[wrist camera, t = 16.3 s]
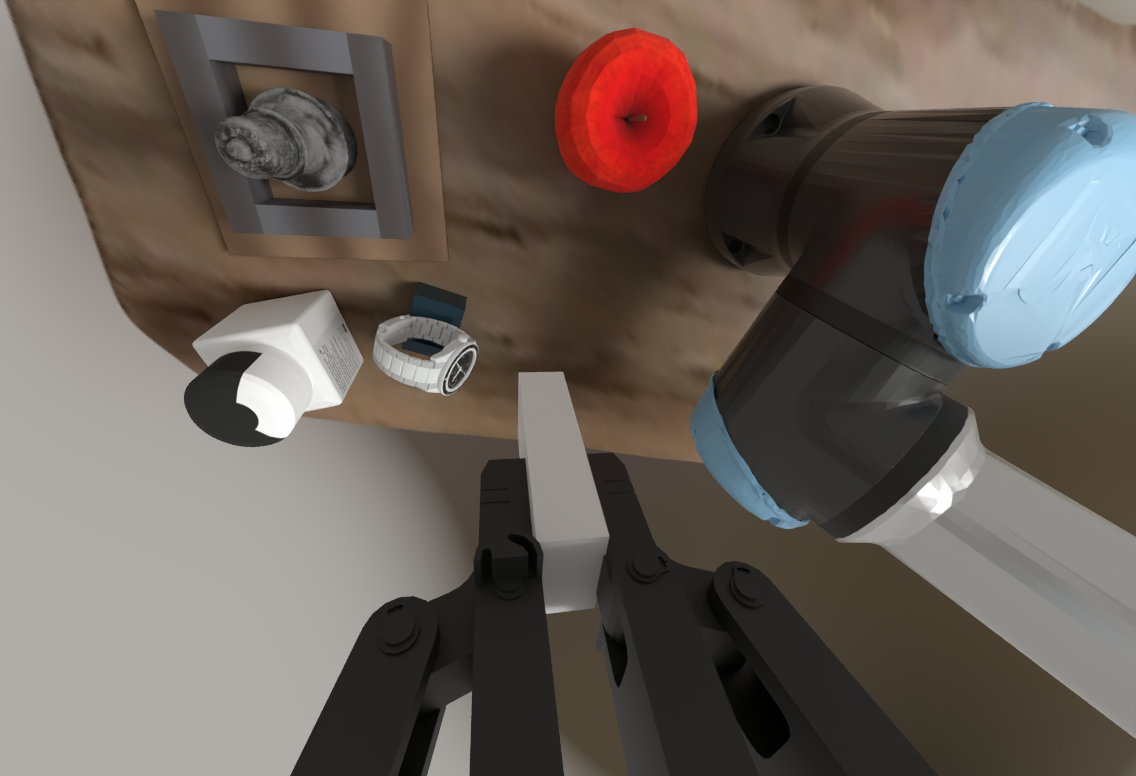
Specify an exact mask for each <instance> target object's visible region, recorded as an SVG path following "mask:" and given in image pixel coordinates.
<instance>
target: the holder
mask: <svg viewBox="0 0 1136 776" xmlns="http://www.w3.org/2000/svg"><path fill="white" fill-rule="evenodd" d="M135 2H136V5H137V7H138V10H139V13H140V15H141V18H142V21H143V24H144V26H145V29H146V32H147V34H148V37H149V40H150V42H151V45H152V48H153V50H154V53H155V56H156V58H157V61H158V64H159V66H160V69H161V72H162V75H163V77H164V80H165V83H166V85H167V88H168V91H169V93H170V96H171V99H172V101H173V104H174V107H175V109H176V112H177V115H178V117H179V120H180V123H181V125H182V128H183V131H184V134H185V136H186V139H187V142H188V144H189V147H190V150H191V152H192V155H193V158H194V160H195V163H196V166H197V168H198V171H199V174H200V176H201V179H202V182H203V185H204V187H205V190H206V193H207V195H208V198H209V201H210V203H211V206H212V209H213V211H214V214H215V217H216V219H217V222H218V225H219V227H220V230H221V233H222V236H223V238H224V241H225V244H226V246H227V249H228V252H229V254H230V255H237V256H269V257H301V258H332V259H364V260H396V261H428V262H448V261H449V252H448V240H447V227H446V215H445V203H444V191H443V179H442V167H441V155H440V143H439V131H438V118H437V106H436V94H435V82H434V70H433V58H432V46H431V34H430V22H429V10H428V2H427V0H135ZM277 87H287V88H291V89H296V90H300V91H302V92H304V93H306V94H308V95H310V96H312V97H316V98H319V99H321V100H323V101H325V102H327V103H329V104H331V105H332V106H333V107H335V108H336V109H337V110H338V111H339V112H340V113H341V114H342V115H343V116H344V117H345V119H346V120H347V121H348V123H349V125H350V126H351V128H352V130H353V132H354V135H355V138H356V141H357V151H358V154H357V159H356V163H355V165H354V167H353V169H352V171H351V172H350V173H349V174H347V175H346V176H345V177H343V178H342V179H341V180H340V181H339V182H338V183H337V184H336V185H335V186H334V187H331V188H329V189H327V190H324V191H318V192H308V191H302V190H298V189H296V188H293V187H291V186H288V185H286V184H285V183H283V182H282V181H280V180H275V179H272V178H268V179H254V178H249V177H247V176H244V175H242V174H240V173H238V172H237V171H235V170H234V169H233V168H232V167H230V166H229V165H228V164H227V163H226V162H225V160H224V159H223V158H222V156H221V155H220V153H219V151H218V149H217V146H216V142H215V130H216V128H217V125H218V124H219V123H220V122H221V121H222V120H224V119H226V118H228V117H230V116H241V115H242V114H243V113H244V112H245V111H248V109H249V107H250V105H251V102H252V101H253V100H254V99H255V98H256V97H257V96H258V95H259V93H261V92H263V91H265V90H268V89H270V88H277Z"/></svg>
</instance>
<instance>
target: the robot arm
mask: <svg viewBox="0 0 1136 776" xmlns="http://www.w3.org/2000/svg"><path fill="white" fill-rule="evenodd" d="M705 217H706V224H707V229H708V232H709V235H710V238H711V240H712V242H713V244H714V246H715V247H716V249H717V250H718V251H719V253H720V254H721V255H722V256H723V257H724V258H725V259H727V260H728V261H729V262H731V263H733V264H734V265H736V266H738V267H740V268H741V269H743V270H745V271H747V272H750V273H753V274H757V275H762V276H786V278H785V279H784V280H783V282H782V283H781V285H780V286H779V288H778V289H777V290H776V291H775V292H774V294H773V295H772V297H771V298H770V299H769V301H768V302H767V304H766V305H765V307H764V308H763V309H762V311H761V312H760V314H759V315H758V317H757V318H756V320H755V321H754V322H753V324H752V325H751V327H750V328H749V330H748V331H747V332H746V334H745V335H744V337H743V338H742V339H741V341H740V342H739V343H738V345H737V346H736V348H735V349H734V350H733V352H732V353H731V354H730V356H729V357H728V359H727V360H726V361H725V363H724V364H723V365H722V367H721V368H720V370H718V371H716V372H714V373H713V375H712V376H711V377H710V380H709V385H708V387H707V388H706V390H705V391H704V393H703V395H702V396H701V398H700V399H699V401H698V402H697V404H696V406H695V407H694V409H693V412H692V415H691V420H690V428H691V433H692V438H693V440H694V442H695V446H696V449H697V451H698V453H699V455H700V457H701V459H702V460H703V462H704V464H705V465H706V467H707V468H708V470H709V471H710V472H711V474H712V475H713V476H714V478H715V479H716V480H717V481H718V482H719V483H720V484H721V486H722V487H723V488H724V489H725V490H726V491H727V492H728V493H729V494H730V495H731V496H732V497H733V498H734V499H735V500H736V501H738V502H739V503H740V504H741V505H742V506H743V507H745V508H746V509H747V510H748V511H750V512H751V513H753V514H754V515H756V516H757V517H759V518H761V519H763V520H767V519H768V520H769V521H770V522H771V523H772V524H773V525H775V526H778V527H781V528H786V529H792V528H795V527H798V526H803V525H806V524H807V523H808V522H809V521H810V520H811V521H813V522H814V523H815V524H817V525H818V526H819V527H821V528H822V529H823V530H824V531H826V532H827V533H828V534H830V535H831V536H832V537H833V538H835V539H836V540H837V541H839V542H870V543H874V544H878V545H881V546H882V547H883V548H885V549H886V550H887V551H888V552H890V553H891V554H892V555H894V556H895V557H896V558H898V559H899V560H901V561H902V562H903V563H904V564H906V565H907V566H908V567H910V568H911V569H912V570H914V571H915V572H916V573H918V574H919V575H920V576H922V577H923V578H924V579H925V580H927V581H928V582H929V583H931V584H932V585H934V586H935V587H936V588H937V589H939V590H940V591H941V592H943V593H944V594H945V595H947V596H948V597H949V598H951V599H952V600H953V601H955V602H956V603H957V604H959V605H960V606H961V607H962V608H964V609H965V610H966V611H968V612H969V613H970V614H972V615H973V616H974V617H976V618H977V619H978V620H980V621H981V622H982V623H984V624H985V625H986V626H988V627H989V628H990V629H992V630H993V631H994V632H996V633H997V634H998V635H999V636H1001V637H1002V638H1003V639H1005V640H1006V641H1008V642H1009V643H1010V644H1011V645H1013V646H1014V647H1015V648H1017V649H1018V650H1019V651H1021V652H1022V653H1023V654H1025V655H1026V656H1027V657H1029V658H1030V659H1031V660H1033V661H1034V662H1035V663H1037V664H1038V665H1039V666H1040V667H1042V668H1043V669H1044V670H1046V671H1047V672H1048V673H1050V674H1051V675H1052V676H1054V677H1055V678H1056V679H1058V680H1059V681H1060V682H1062V683H1063V684H1064V685H1066V686H1067V687H1068V688H1070V689H1071V690H1072V691H1074V692H1075V693H1076V694H1078V695H1079V696H1080V697H1081V698H1083V699H1084V700H1085V701H1087V702H1088V703H1090V704H1091V705H1092V706H1093V707H1095V708H1096V709H1097V710H1099V711H1100V712H1101V713H1103V714H1104V715H1105V716H1107V717H1108V718H1109V719H1110V720H1112V721H1113V722H1114V723H1116V724H1117V725H1119V726H1120V727H1121V728H1122V729H1124V730H1125V731H1126V732H1128V733H1129V734H1130V735H1132V736H1133V737H1134V738H1136V537H1135V536H1133V535H1131V534H1129V533H1128V532H1126V531H1124V530H1123V529H1121V528H1119V527H1117V526H1116V525H1114V524H1112V523H1111V522H1109V521H1107V520H1105V519H1104V518H1102V517H1101V516H1099V515H1097V514H1095V513H1094V512H1092V511H1090V510H1089V509H1087V508H1085V507H1084V506H1082V505H1080V504H1078V503H1077V502H1075V501H1073V500H1072V499H1070V498H1068V497H1067V496H1065V495H1063V494H1061V493H1060V492H1058V491H1056V490H1055V489H1053V488H1051V487H1050V486H1048V485H1046V484H1044V483H1043V482H1041V481H1039V480H1037V479H1036V478H1034V477H1033V476H1031V475H1029V474H1028V473H1026V472H1024V471H1022V470H1021V469H1019V468H1017V467H1015V466H1014V465H1012V464H1011V463H1009V462H1007V461H1005V460H1004V459H1002V458H1000V457H999V456H997V455H995V454H993V453H992V452H990V451H988V450H987V449H986V448H985V447H984V446H982V444H981V442H980V439H979V435H978V429H977V425H976V420H975V415H974V412H973V410H971V409H970V408H968V407H967V406H965V405H963V404H961V403H959V402H957V401H956V400H954V399H952V398H950V397H948V396H947V395H945V394H943V392H942V391H943V390H944V389H945V388H946V387H947V385H949V384H950V383H951V382H952V381H953V380H954V379H955V378H956V377H957V376H958V375H959V374H960V373H961V372H962V371H963V370H965V369H966V368H967V367H968V366H969V365H970V366H974V367H989V368H1010V367H1015V366H1020V365H1023V364H1027V363H1030V362H1032V361H1034V360H1037V359H1039V358H1040V357H1041V355H1042V354H1043V352H1044V351H1045V350H1047V351H1051V350H1056V349H1058V348H1060V347H1062V346H1063V345H1065V344H1066V343H1068V342H1069V341H1070V340H1072V339H1073V338H1075V337H1076V336H1077V335H1079V334H1080V333H1081V332H1082V331H1083V330H1084V329H1086V328H1087V327H1088V326H1089V325H1090V324H1091V323H1093V322H1094V321H1095V320H1096V319H1097V318H1098V317H1099V316H1100V315H1101V314H1102V313H1103V311H1105V310H1106V309H1107V307H1109V306H1110V304H1111V303H1112V302H1113V301H1114V300H1115V299H1116V297H1117V296H1118V295H1119V294H1120V293H1121V292H1122V290H1123V289H1124V288H1125V287H1126V286H1127V284H1128V283H1129V282H1130V280H1131V279H1132V277H1133V276H1134V275H1135V273H1136V115H1135V114H1132V113H1129V112H1125V111H1119V110H1112V109H1095V108H1074V107H1056V106H1054V105H1051V104H1049V103H1044V102H1041V103H1038V102H1031V103H1023V104H1019V105H1017V106H1014V107H986V108H957V109H929V110H900V111H885V110H883V109H881V108H880V107H878V106H876V105H874V104H873V103H871V102H869V101H868V100H866V99H864V98H863V97H861V96H859V95H858V94H856V93H854V92H852V91H850V90H848V89H844V88H841V87H835V86H812V87H803V88H796V89H792V90H789V91H786V92H783V93H781V94H778V95H776V96H774V97H772V98H771V99H769V100H767V101H766V102H764V103H763V104H761V105H760V106H758V107H757V108H756V109H755V110H753V111H752V112H751V113H750V114H749V115H748V116H747V117H746V118H745V119H744V120H743V121H742V122H741V123H740V124H739V125H738V126H737V127H736V129H735V130H734V131H733V133H732V134H731V135H730V137H729V138H728V140H727V141H726V143H725V144H724V146H723V148H722V149H721V151H720V153H719V155H718V157H717V159H716V161H715V164H714V166H713V169H712V172H711V175H710V178H709V182H708V186H707V192H706V200H705ZM518 442H519V455H520V458H519V459H500V460H489V461H488V463H487V465H486V466H485V468H484V470H483V471H482V473H481V489H480V490H481V493H480V521H479V546H478V548H477V550H476V553H475V557H474V571H473V573H472V574H471V576H470V577H469V578H468V580H467V581H466V582H464V583H463V584H462V585H461V586H460V587H458V588H457V589H455V590H453V591H451V592H449V593H447V594H445V595H443V596H440V597H438V598H436V599H433V600H431V601H429V602H427V601H426V600H423V599H420V598H417V597H414V596H411V597H399V598H397V599H395V600H392V601H390V602H388V603H385V604H384V605H383V606H382V607H380V608H379V609H378V610H377V611H375V612H374V613H373V614H372V615H371V617H370V618H369V620H368V621H367V623H366V624H365V625H364V627H363V628H362V631H361V633H360V635H359V637H358V639H357V641H356V643H355V645H354V647H353V649H352V651H351V653H350V655H349V657H348V659H347V661H346V663H345V665H344V667H343V670H342V671H341V673H340V675H339V677H338V679H337V681H336V683H335V686H334V688H333V690H332V692H331V694H330V696H329V698H328V700H327V702H326V704H325V706H324V708H323V710H322V712H321V714H320V716H319V718H318V720H317V722H316V724H315V726H314V728H313V730H312V733H311V735H310V736H309V739H308V741H307V743H306V745H305V747H304V749H303V751H302V753H301V755H300V757H299V759H298V761H297V763H296V765H295V767H294V769H293V771H292V773H291V775H290V776H427V773H428V770H429V766H430V762H431V759H432V755H433V752H434V748H435V744H436V741H437V737H438V734H439V730H440V727H441V723H442V719H443V716H444V712H445V709H446V705H447V704H449V703H451V702H453V701H454V700H456V699H458V698H460V697H462V696H463V695H465V694H467V693H469V692H471V691H472V716H471V718H472V719H471V748H470V776H564V771H563V762H562V753H561V745H560V735H559V728H558V718H557V709H556V700H555V691H554V682H553V673H552V664H551V655H550V646H549V637H548V628H547V619H546V614H548V613H557V612H566V611H574V610H582V609H591V608H595V604H596V599H598V603H599V608H600V613H601V619H600V624H599V628H598V633H597V637H596V651H598V650H601V646H602V647H603V653H604V657H605V662H606V667H607V672H608V677H609V682H610V686H611V691H612V696H613V701H614V706H615V710H616V715H617V720H618V725H619V730H620V735H621V740H622V744H623V749H624V754H625V759H626V763H627V768H628V773H629V776H938V775H937V774H936V773H935V771H934V770H933V769H932V768H931V767H930V765H929V764H928V763H927V762H926V761H925V760H924V759H923V757H922V756H921V755H920V754H919V753H918V751H917V750H916V749H915V748H914V747H913V746H912V744H911V743H910V742H909V741H908V740H907V739H906V738H905V736H904V735H903V734H902V733H901V732H900V731H899V729H898V728H897V727H896V726H895V725H894V724H893V722H892V721H891V720H890V719H889V718H888V717H887V715H886V714H885V713H884V712H883V711H882V710H881V708H880V707H879V706H878V705H877V704H876V703H875V701H874V700H873V699H872V698H871V697H870V696H869V694H868V693H867V692H866V691H865V690H864V689H863V687H862V686H861V685H860V684H859V683H858V682H857V680H856V679H855V678H854V677H853V676H852V675H851V674H850V672H849V671H848V670H847V669H846V668H845V667H844V665H843V664H842V663H841V662H840V661H839V660H838V658H837V657H836V656H835V655H834V654H833V653H832V651H831V650H830V649H829V648H828V647H827V646H826V645H825V643H824V642H823V641H822V640H821V639H820V638H819V636H818V635H817V634H816V633H815V632H814V630H813V629H812V628H811V627H810V626H809V625H808V623H807V622H806V621H805V620H804V619H803V618H802V617H801V615H800V614H799V613H798V612H797V611H796V609H795V608H794V607H793V606H792V605H791V604H790V603H789V601H788V600H787V599H786V598H785V597H784V596H783V594H782V593H781V592H780V591H779V590H778V589H777V588H776V586H775V585H774V584H773V583H772V582H771V580H770V579H768V578H767V577H766V576H765V575H764V574H763V573H762V572H761V571H760V570H758V569H756V568H754V567H752V566H750V565H748V564H746V563H742V562H737V561H733V562H726V563H724V564H722V565H721V566H720V567H718V568H717V570H716V572H711V571H706V570H701V569H697V568H692V567H688V566H684V565H682V564H679V563H677V562H675V561H673V560H671V559H670V558H669V557H668V555H667V554H666V553H664V552H663V551H662V550H661V549H660V548H658V547H657V546H656V544H655V542H654V540H653V538H652V535H651V533H650V530H649V527H648V525H647V522H646V519H645V517H644V514H643V512H642V509H641V507H640V504H639V501H638V499H637V496H636V494H635V491H634V488H633V486H632V483H631V482H630V478H629V475H628V473H627V470H626V467H625V465H624V464H623V463H622V462H621V461H620V460H619V459H618V458H617V457H616V455H614V453H596V454H586V451H585V448H584V444H583V441H582V437H581V434H580V430H579V426H578V423H577V419H576V416H575V412H574V409H573V405H572V402H571V398H570V395H569V391H568V387H567V384H566V380H565V377H564V373H563V372H519V388H518Z"/></svg>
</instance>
